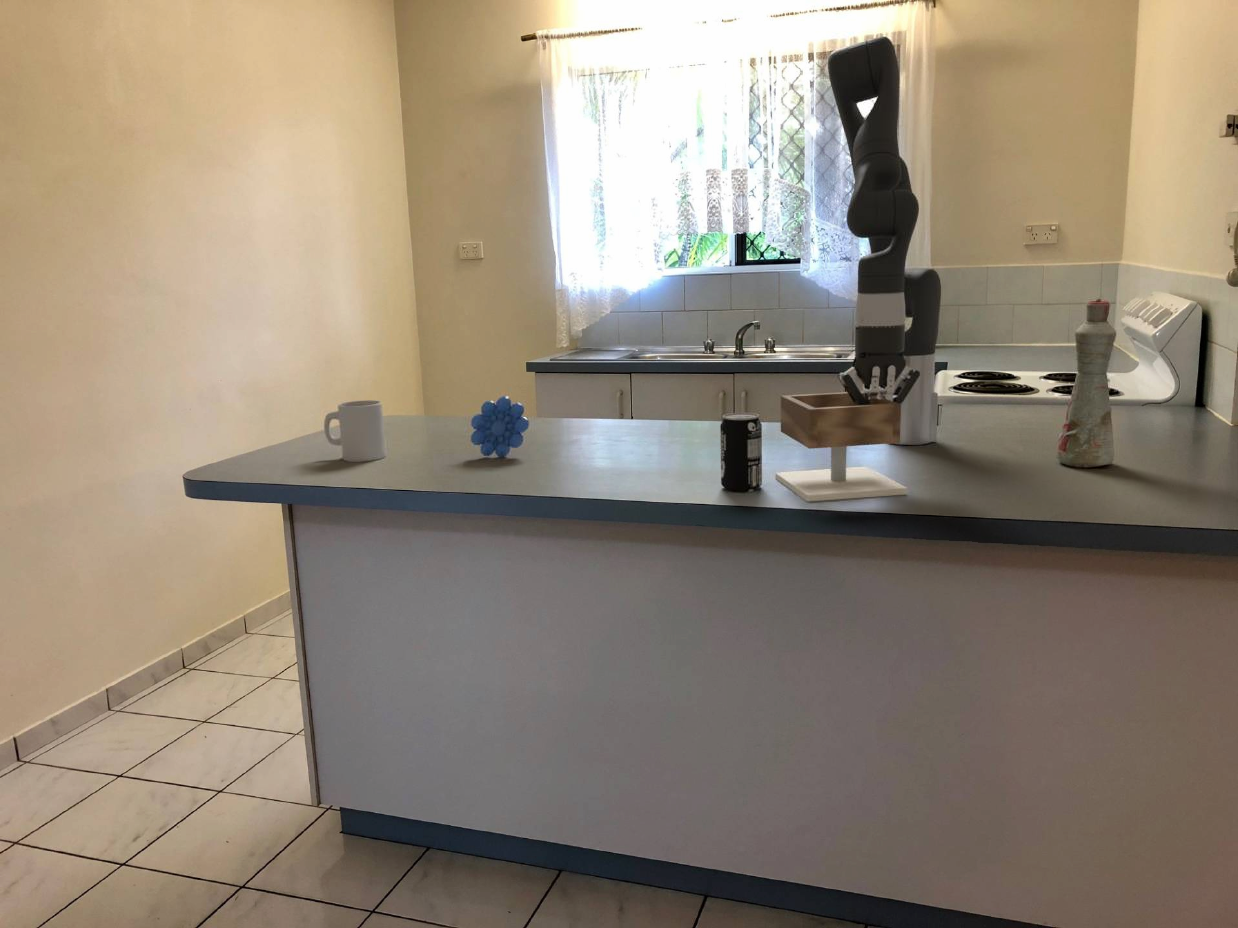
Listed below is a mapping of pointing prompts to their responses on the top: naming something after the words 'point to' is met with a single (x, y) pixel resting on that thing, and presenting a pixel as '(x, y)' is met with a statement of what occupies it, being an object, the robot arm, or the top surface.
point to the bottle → (1090, 394)
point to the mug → (359, 430)
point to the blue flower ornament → (499, 427)
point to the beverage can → (741, 452)
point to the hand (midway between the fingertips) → (877, 430)
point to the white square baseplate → (839, 481)
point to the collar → (839, 420)
